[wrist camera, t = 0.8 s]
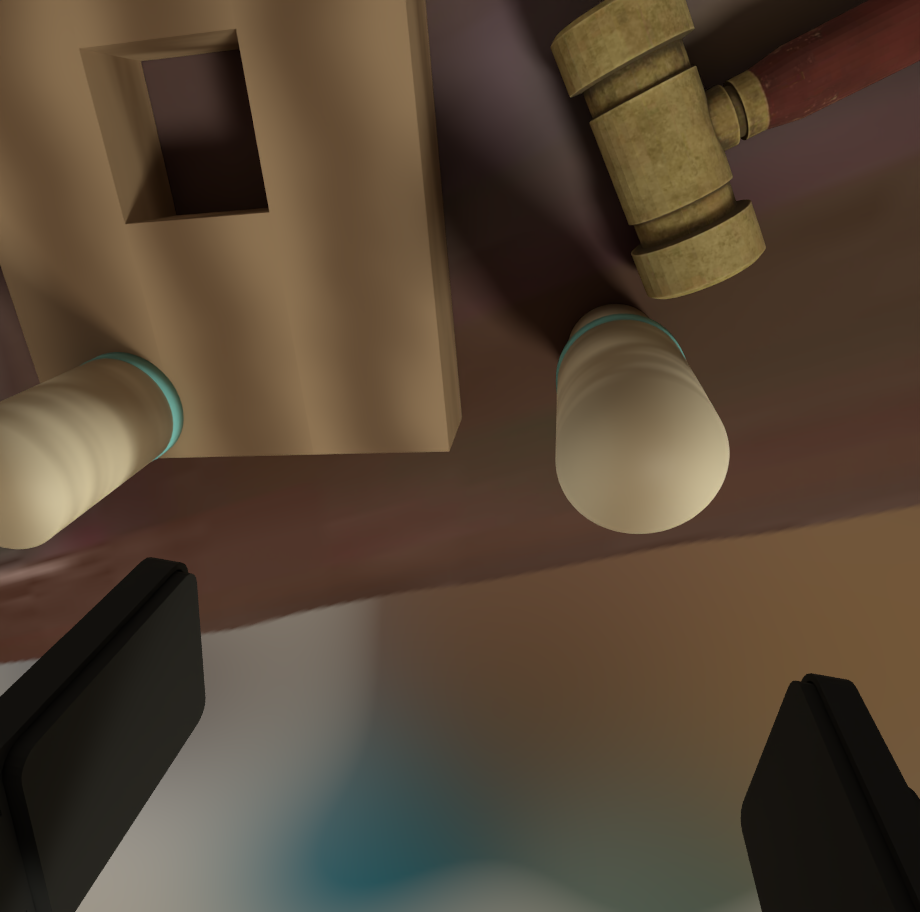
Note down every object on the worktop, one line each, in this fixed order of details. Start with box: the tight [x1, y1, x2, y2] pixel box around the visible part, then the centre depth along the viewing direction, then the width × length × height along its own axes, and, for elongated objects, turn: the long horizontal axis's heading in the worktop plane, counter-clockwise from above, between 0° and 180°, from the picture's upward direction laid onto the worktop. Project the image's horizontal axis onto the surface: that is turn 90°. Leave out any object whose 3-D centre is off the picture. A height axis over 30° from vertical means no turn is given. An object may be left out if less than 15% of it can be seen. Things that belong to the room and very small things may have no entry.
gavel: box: [551, 0, 920, 299], centre depth 24 cm, size 21×5×10 cm
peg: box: [556, 304, 729, 534], centre depth 25 cm, size 5×5×12 cm
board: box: [0, 0, 462, 549], centre depth 24 cm, size 18×22×12 cm
